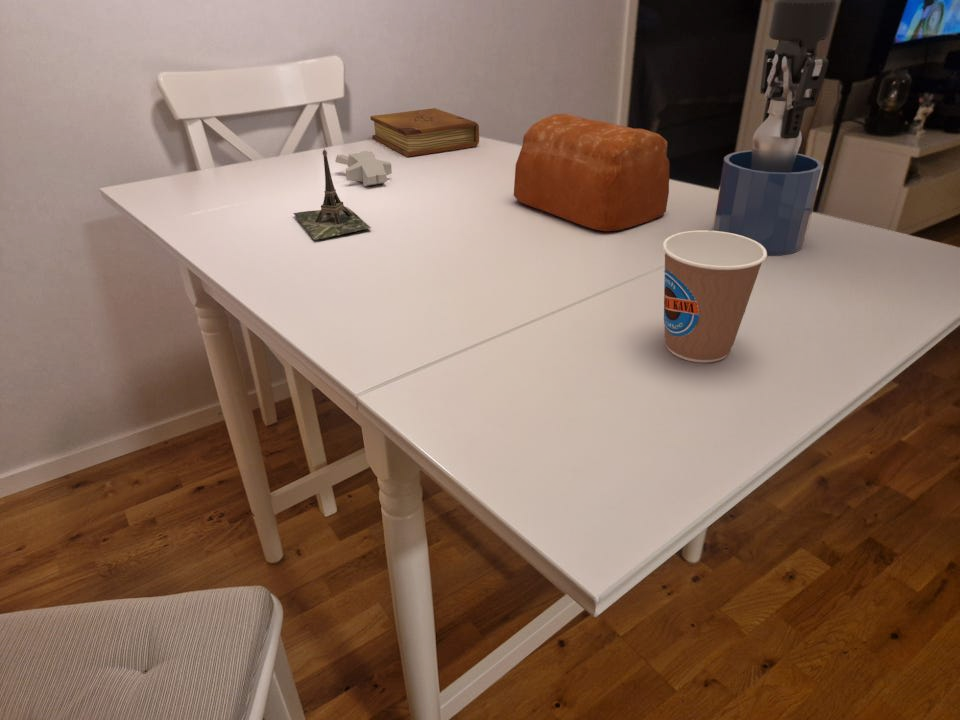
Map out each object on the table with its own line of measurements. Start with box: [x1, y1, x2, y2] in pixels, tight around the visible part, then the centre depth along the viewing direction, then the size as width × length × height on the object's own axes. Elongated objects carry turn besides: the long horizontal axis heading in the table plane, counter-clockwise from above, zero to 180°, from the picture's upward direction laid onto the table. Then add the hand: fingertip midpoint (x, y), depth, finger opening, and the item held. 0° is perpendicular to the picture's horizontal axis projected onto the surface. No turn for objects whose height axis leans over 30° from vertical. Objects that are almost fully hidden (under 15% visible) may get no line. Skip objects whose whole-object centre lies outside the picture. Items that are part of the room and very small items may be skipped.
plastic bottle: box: [751, 96, 803, 173], centre depth 97 cm, size 6×7×20 cm
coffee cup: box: [662, 229, 768, 364], centre depth 71 cm, size 10×10×12 cm
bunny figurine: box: [334, 150, 392, 187], centre depth 135 cm, size 10×5×15 cm
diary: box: [370, 107, 480, 158], centre depth 161 cm, size 23×19×6 cm
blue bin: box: [711, 149, 824, 257], centre depth 99 cm, size 13×13×12 cm
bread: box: [513, 113, 670, 232], centre depth 113 cm, size 17×24×15 cm
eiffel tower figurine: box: [293, 143, 372, 241], centre depth 110 cm, size 15×10×13 cm
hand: (779, 132), depth 94 cm, fingers closed on plastic bottle, 5 cm apart
